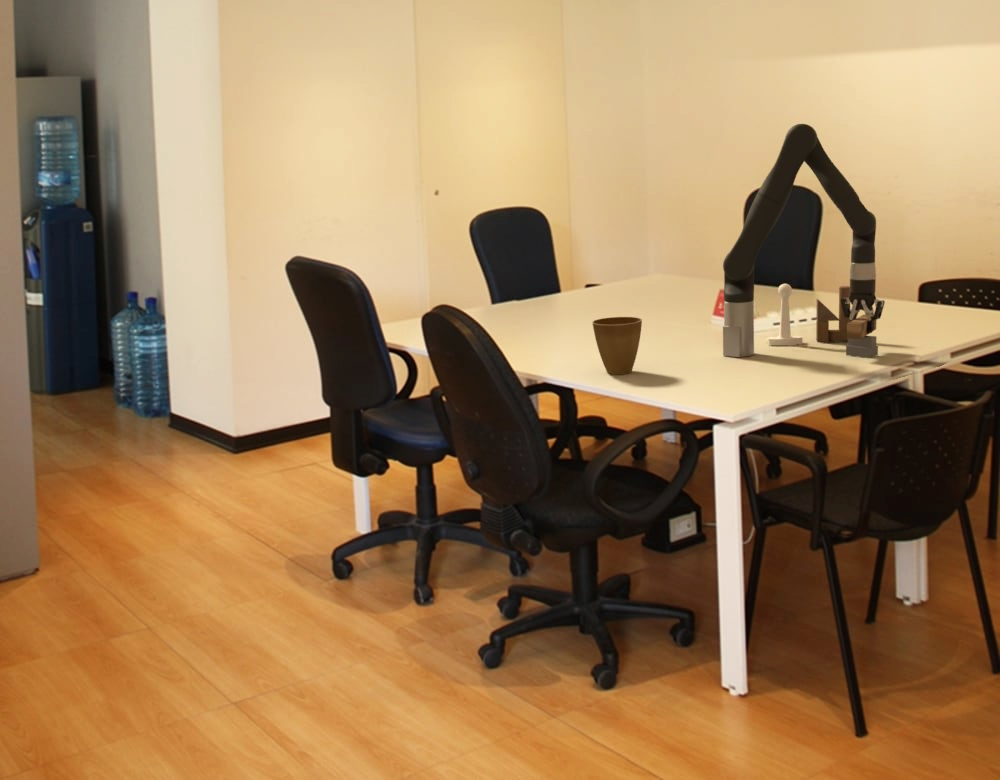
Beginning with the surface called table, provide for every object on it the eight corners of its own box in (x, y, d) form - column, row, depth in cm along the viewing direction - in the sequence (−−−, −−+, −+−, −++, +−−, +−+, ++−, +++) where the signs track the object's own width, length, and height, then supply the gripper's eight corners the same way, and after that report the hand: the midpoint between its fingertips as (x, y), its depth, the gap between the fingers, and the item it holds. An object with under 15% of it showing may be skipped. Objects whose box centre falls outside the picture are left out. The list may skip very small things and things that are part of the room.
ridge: (869, 357, 381) (870, 338, 380) (846, 355, 386) (846, 336, 385) (877, 355, 384) (878, 336, 383) (854, 352, 390) (854, 333, 388)
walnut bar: (860, 339, 375) (860, 324, 374) (846, 338, 377) (846, 323, 376) (876, 329, 390) (876, 314, 389) (863, 328, 392) (863, 314, 391)
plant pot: (639, 366, 386) (637, 315, 382) (646, 375, 371) (645, 322, 368) (591, 368, 385) (589, 317, 382) (596, 378, 371) (595, 325, 367)
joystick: (770, 346, 407) (769, 285, 402) (764, 342, 414) (763, 282, 410) (803, 344, 407) (803, 283, 403) (797, 340, 414) (797, 280, 410)
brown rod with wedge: (816, 340, 412) (816, 286, 408) (849, 340, 411) (850, 285, 407) (817, 342, 409) (817, 288, 405) (851, 342, 407) (851, 287, 403)
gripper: (835, 277, 382) (834, 332, 386) (878, 280, 373) (877, 336, 376) (847, 274, 388) (846, 328, 391) (890, 276, 378) (889, 332, 381)
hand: (861, 332), depth 384 cm, fingers closed on walnut bar, 4 cm apart
